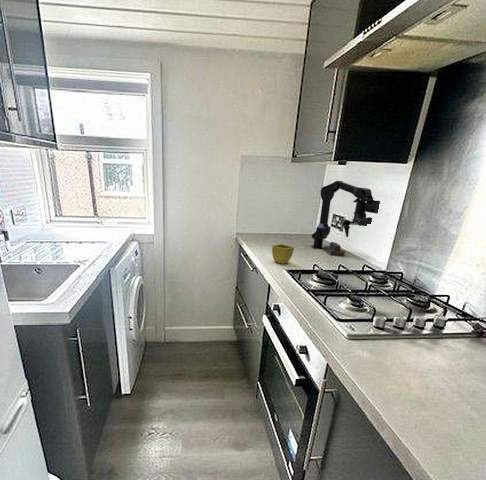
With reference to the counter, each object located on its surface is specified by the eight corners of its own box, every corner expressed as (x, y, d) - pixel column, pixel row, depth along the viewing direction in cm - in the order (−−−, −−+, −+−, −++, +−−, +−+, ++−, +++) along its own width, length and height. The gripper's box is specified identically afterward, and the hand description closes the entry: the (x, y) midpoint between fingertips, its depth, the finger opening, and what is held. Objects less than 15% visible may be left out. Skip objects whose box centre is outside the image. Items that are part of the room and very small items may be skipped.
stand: (324, 249, 199) (324, 245, 198) (336, 250, 198) (337, 246, 197) (330, 255, 185) (331, 251, 184) (344, 255, 185) (344, 251, 184)
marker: (328, 246, 197) (329, 241, 196) (333, 246, 197) (334, 241, 196) (334, 250, 186) (335, 245, 185) (339, 251, 186) (340, 245, 185)
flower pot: (279, 259, 171) (280, 243, 168) (292, 262, 165) (294, 246, 162) (270, 261, 165) (271, 245, 162) (283, 265, 159) (285, 249, 156)
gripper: (349, 212, 166) (343, 239, 171) (383, 213, 165) (377, 241, 170) (341, 209, 176) (337, 235, 181) (374, 211, 176) (368, 237, 181)
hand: (354, 237), depth 178 cm, fingers open, 9 cm apart
